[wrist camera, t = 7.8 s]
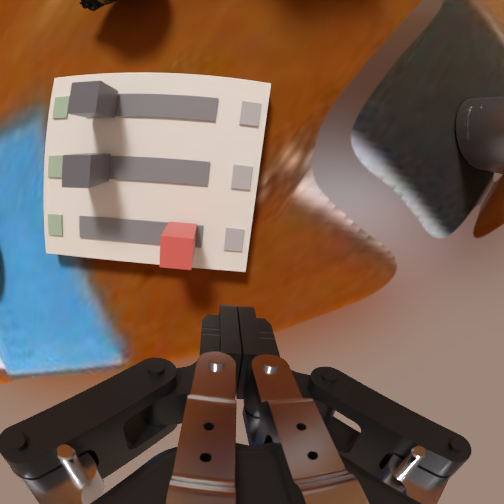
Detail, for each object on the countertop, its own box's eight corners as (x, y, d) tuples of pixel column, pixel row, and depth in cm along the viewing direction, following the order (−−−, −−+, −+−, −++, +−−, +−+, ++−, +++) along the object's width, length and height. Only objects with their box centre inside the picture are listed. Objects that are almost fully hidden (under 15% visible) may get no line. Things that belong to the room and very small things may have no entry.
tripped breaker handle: (197, 223, 26) (193, 238, 22) (194, 250, 27) (191, 270, 22) (169, 221, 26) (160, 235, 21) (167, 248, 26) (159, 267, 22)
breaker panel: (267, 87, 25) (283, 69, 18) (243, 264, 30) (252, 296, 24) (63, 81, 22) (27, 68, 15) (54, 246, 27) (21, 272, 21)
